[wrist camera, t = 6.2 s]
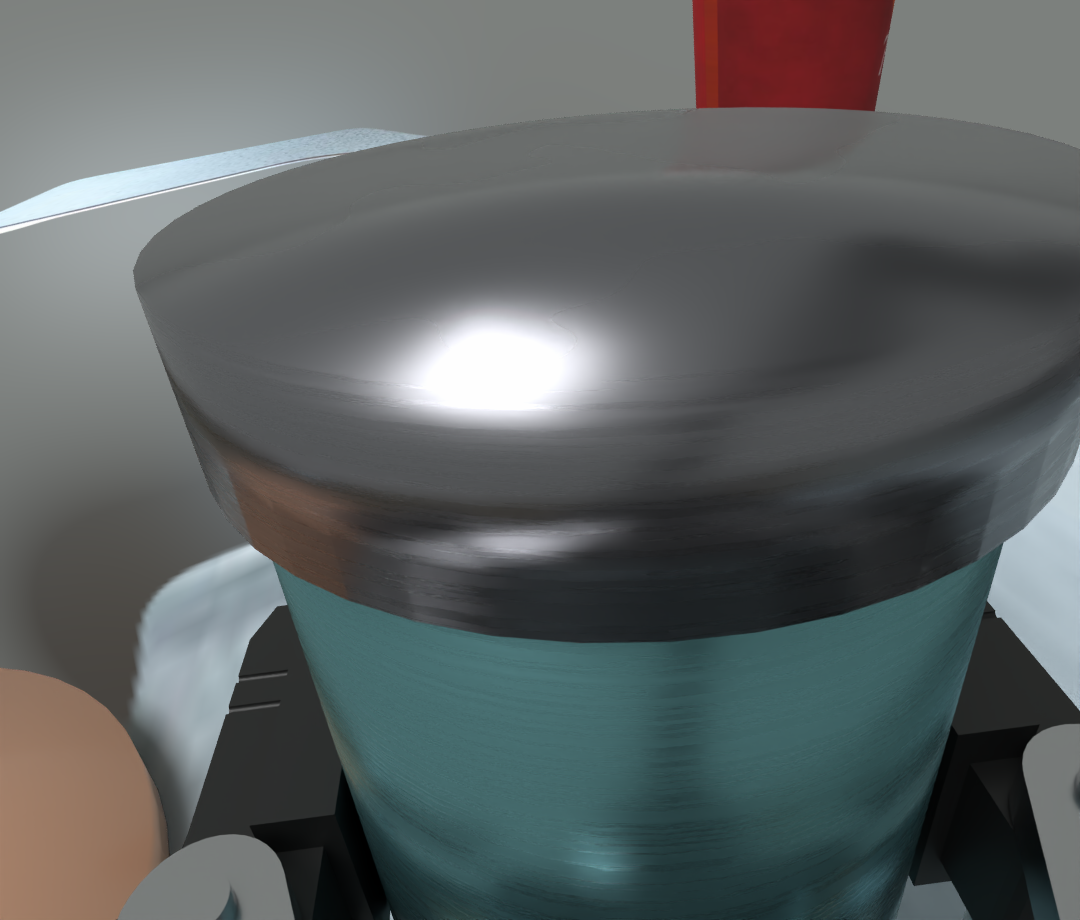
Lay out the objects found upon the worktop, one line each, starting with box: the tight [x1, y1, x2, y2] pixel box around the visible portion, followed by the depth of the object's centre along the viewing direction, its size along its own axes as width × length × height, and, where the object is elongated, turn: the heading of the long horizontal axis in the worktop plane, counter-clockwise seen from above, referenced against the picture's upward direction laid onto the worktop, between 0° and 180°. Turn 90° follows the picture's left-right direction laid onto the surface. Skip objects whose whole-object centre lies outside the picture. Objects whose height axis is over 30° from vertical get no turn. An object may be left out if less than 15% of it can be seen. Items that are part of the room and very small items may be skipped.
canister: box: [133, 107, 1080, 920], centre depth 8 cm, size 6×6×12 cm
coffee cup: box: [693, 0, 895, 111], centre depth 32 cm, size 8×8×15 cm
